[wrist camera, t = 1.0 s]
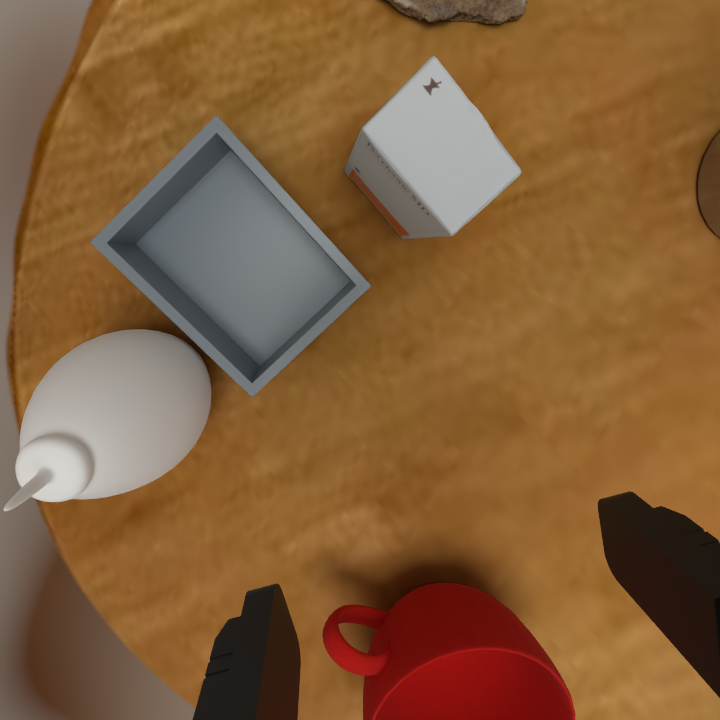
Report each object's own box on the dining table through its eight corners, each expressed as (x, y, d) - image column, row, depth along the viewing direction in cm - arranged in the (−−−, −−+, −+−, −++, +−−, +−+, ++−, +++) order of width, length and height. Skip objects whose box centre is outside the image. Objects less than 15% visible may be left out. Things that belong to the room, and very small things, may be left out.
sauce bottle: (110, 428, 34) (-112, 619, 16) (103, 314, 32) (-151, 388, 15) (227, 430, 34) (137, 614, 17) (226, 318, 33) (126, 395, 15)
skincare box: (340, 171, 32) (356, 124, 20) (390, 124, 31) (435, 47, 20) (403, 244, 33) (452, 239, 21) (451, 198, 32) (528, 169, 21)
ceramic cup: (372, 491, 36) (393, 578, 27) (544, 593, 40) (619, 704, 30) (277, 623, 38) (264, 750, 28) (450, 710, 41) (492, 851, 32)
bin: (232, 136, 30) (216, 114, 26) (362, 281, 33) (371, 286, 28) (124, 243, 31) (89, 242, 26) (261, 376, 34) (252, 397, 29)
